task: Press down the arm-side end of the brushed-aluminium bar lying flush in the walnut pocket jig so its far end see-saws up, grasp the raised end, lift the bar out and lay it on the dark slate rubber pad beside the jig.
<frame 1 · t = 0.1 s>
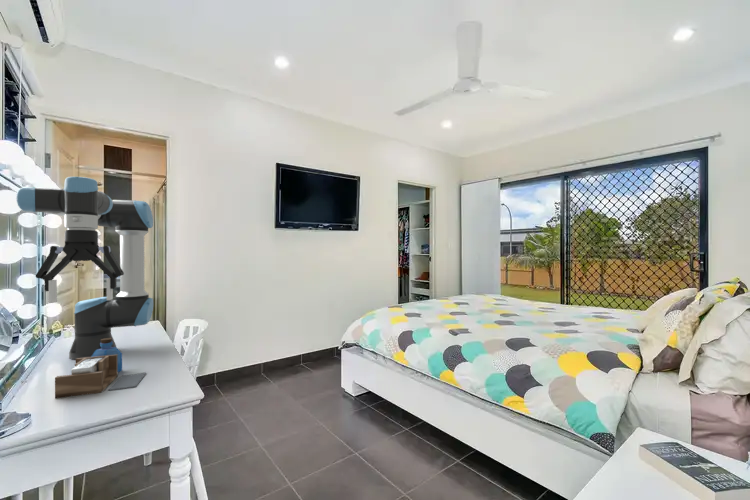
hand: (81, 301, 102), 28 cm above the table, fingers open, 13 cm apart
bar: (88, 374, 107), point 4 cm above the table, touching pocket jig
slate pad: (128, 381, 111), on the table
pocket jig: (88, 387, 107), on the table
perfume bottle: (106, 373, 120), on the table
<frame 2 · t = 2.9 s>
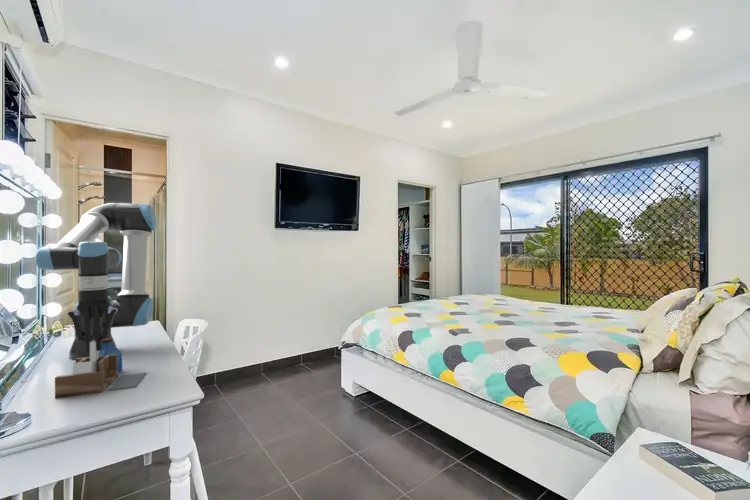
hand: (94, 360, 112), 7 cm above the table, fingers closed
bar: (88, 374, 107), point 4 cm above the table, tilted 18°, touching gripper, pocket jig
everything else where it was.
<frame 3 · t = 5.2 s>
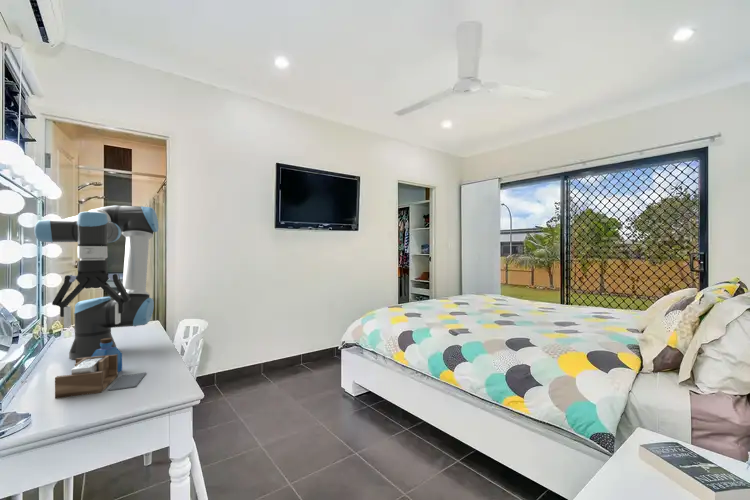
hand: (93, 325, 111), 19 cm above the table, fingers open, 13 cm apart
bar: (88, 374, 107), point 4 cm above the table, touching pocket jig
everything else where it was.
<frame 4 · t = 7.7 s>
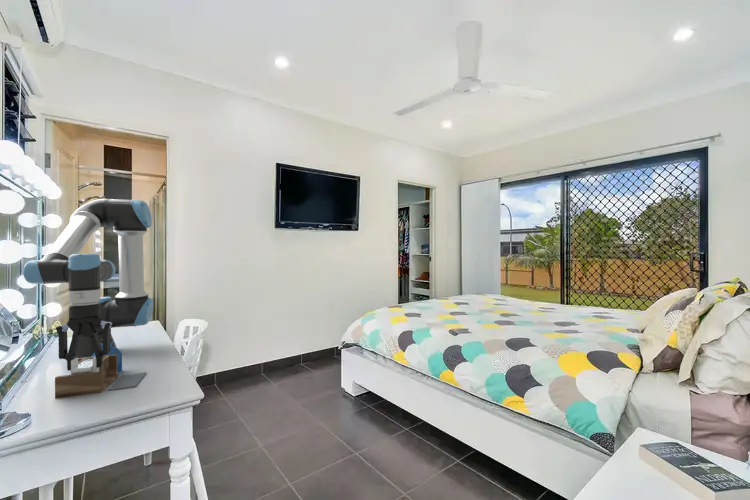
hand: (85, 379, 105), 3 cm above the table, fingers closed on bar, 5 cm apart
bar: (88, 374, 107), point 4 cm above the table, touching gripper, pocket jig
everything else where it was.
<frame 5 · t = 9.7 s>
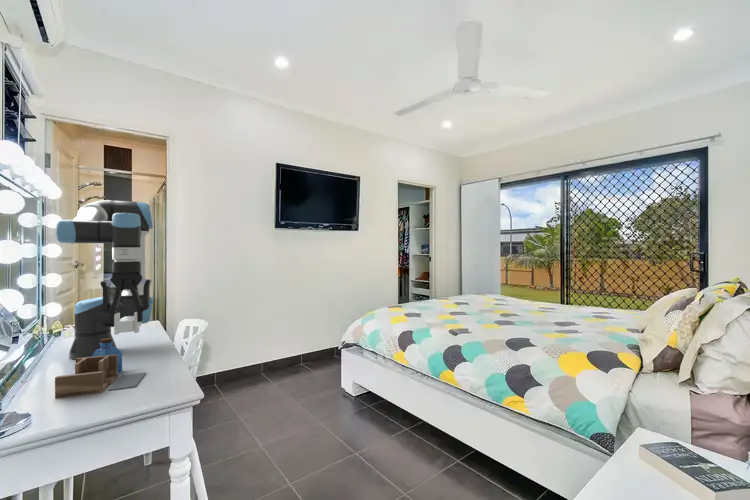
hand: (127, 332, 111), 16 cm above the table, fingers closed on bar, 5 cm apart
bar: (128, 329, 112), point 17 cm above the table, touching gripper
everything else where it was.
when the fingers open (4 cm above the table, at t = 11.7 s): bar drops 4 cm, resting on slate pad.
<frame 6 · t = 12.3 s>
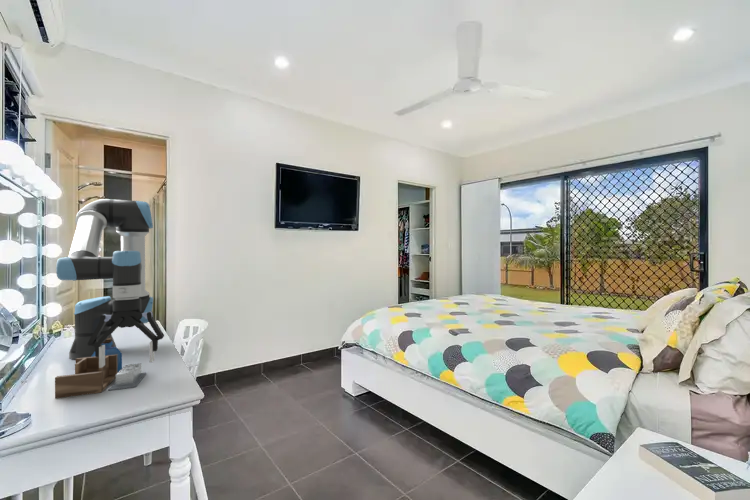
hand: (127, 363, 111), 6 cm above the table, fingers open, 13 cm apart
bar: (129, 379, 112), resting on slate pad
everything else where it was.
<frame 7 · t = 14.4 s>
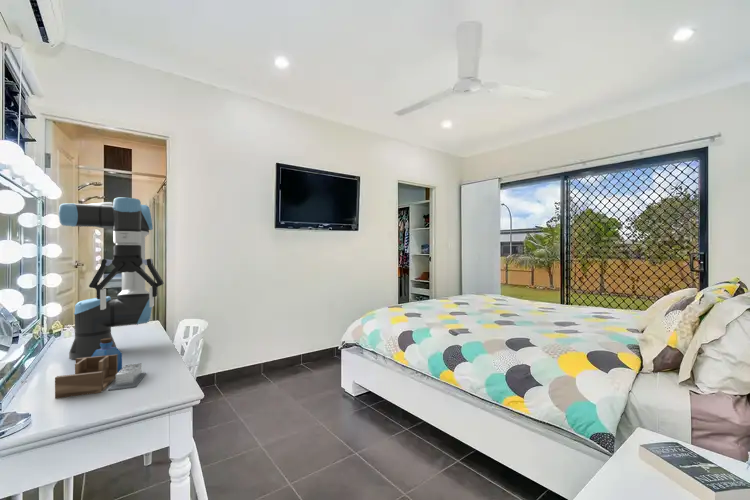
hand: (128, 307, 114), 24 cm above the table, fingers open, 13 cm apart
nothing on the table moved.
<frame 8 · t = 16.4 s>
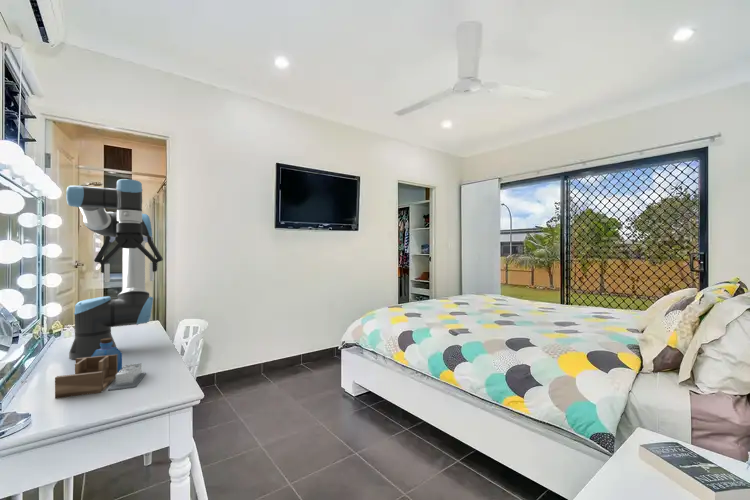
hand: (130, 281, 124), 32 cm above the table, fingers open, 13 cm apart
nothing on the table moved.
at the end: bar inside the target area on the slate pad (1.0 cm from its centre), point 0.4 cm above the slate pad's base; the gripper is holding nothing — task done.
